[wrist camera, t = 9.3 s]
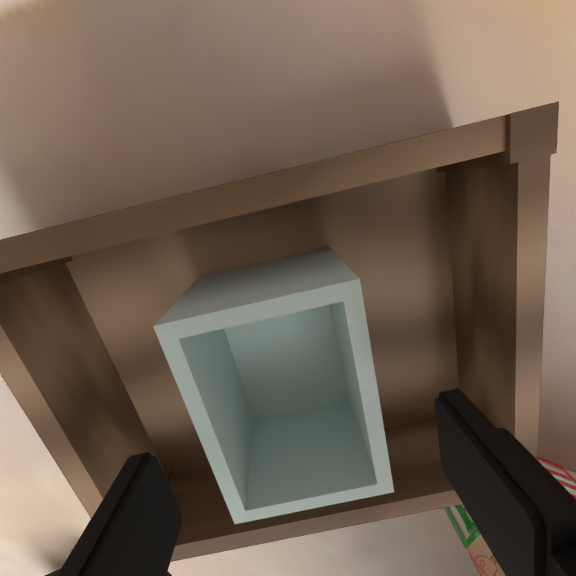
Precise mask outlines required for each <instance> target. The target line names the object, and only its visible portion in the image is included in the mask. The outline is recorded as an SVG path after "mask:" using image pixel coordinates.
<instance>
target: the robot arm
mask: <svg viewBox="0 0 576 576" xmlns="http://www.w3.org/2000/svg"><path fill="white" fill-rule="evenodd" d="M434 403H435V412H436V421H437V431H438V440H439V449H440V458H441V465H442V468H443V470H444V473H445V475H446V477H447V478H448V480H449V482H450V483H451V485H452V487H453V488H454V490H455V492H456V493H457V495H458V497H459V498H460V500H461V502H462V503H463V505H464V507H465V508H466V510H467V512H468V514H469V515H470V517H471V519H472V520H473V522H474V524H475V525H476V527H477V529H478V530H479V532H480V534H481V535H482V537H483V539H484V540H485V542H486V544H487V545H488V547H489V549H490V550H491V552H492V554H493V556H494V557H495V559H496V561H497V562H498V564H499V566H500V567H501V569H502V571H503V572H504V574H505V576H576V499H575V498H574V497H573V496H572V495H571V494H570V493H569V492H568V491H567V490H566V489H565V488H564V487H563V485H562V484H561V483H560V482H559V481H558V480H557V479H556V478H555V477H554V476H553V475H552V474H551V473H550V472H549V471H548V470H547V469H546V468H545V467H544V466H543V465H542V464H541V463H540V462H539V461H538V460H537V459H536V458H535V457H534V456H533V455H532V454H531V453H530V452H529V451H528V450H527V449H526V448H525V447H524V446H523V445H522V444H521V443H520V442H519V441H518V440H517V439H516V438H515V437H514V436H513V435H512V434H511V433H510V432H509V431H508V430H506V429H504V428H496V427H495V426H494V425H493V424H492V423H491V422H490V421H489V420H488V418H487V417H486V416H485V415H484V414H483V413H482V412H481V411H480V410H479V409H478V408H477V407H476V406H475V405H474V404H473V403H472V402H471V400H470V399H469V398H468V397H467V396H466V395H465V394H464V393H463V392H462V391H461V390H460V389H458V388H457V389H452V390H447V391H442V392H439V397H437V398H435V399H434ZM181 525H182V514H181V511H180V509H179V507H178V504H177V502H176V500H175V498H174V495H173V493H172V491H171V489H170V487H169V484H168V482H167V480H166V478H165V475H164V473H163V471H162V469H161V467H160V464H159V462H158V460H157V458H156V457H155V456H152V455H151V453H149V452H146V453H141V454H136V455H131V456H130V457H129V458H128V459H127V460H126V462H125V464H124V465H123V467H122V469H121V470H120V472H119V474H118V475H117V477H116V479H115V480H114V482H113V484H112V485H111V487H110V489H109V490H108V492H107V494H106V495H105V497H104V499H103V500H102V502H101V504H100V505H99V507H98V509H97V510H96V512H95V514H94V515H93V517H92V519H91V520H90V522H89V524H88V525H87V527H86V529H85V530H84V532H83V533H82V535H81V537H80V538H79V540H78V542H77V543H76V545H75V547H74V548H73V550H72V552H71V553H70V555H69V557H68V558H67V560H66V562H65V563H64V565H63V567H62V568H61V570H60V572H59V573H58V575H57V576H166V574H167V571H168V567H169V564H170V561H171V558H172V555H173V551H174V548H175V545H176V542H177V538H178V535H179V532H180V529H181Z"/></svg>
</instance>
